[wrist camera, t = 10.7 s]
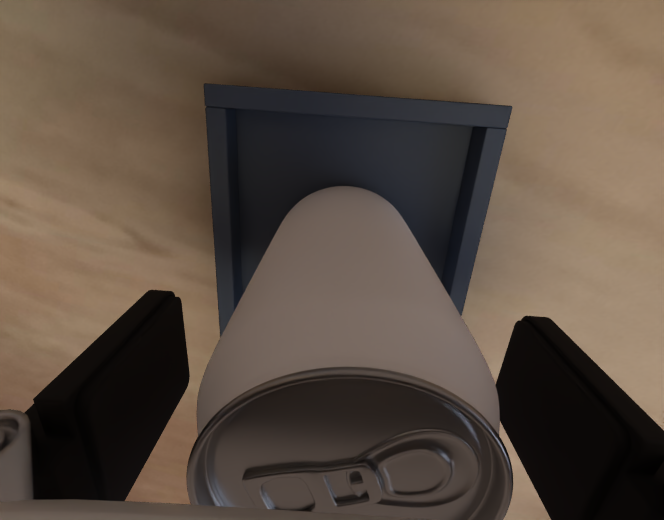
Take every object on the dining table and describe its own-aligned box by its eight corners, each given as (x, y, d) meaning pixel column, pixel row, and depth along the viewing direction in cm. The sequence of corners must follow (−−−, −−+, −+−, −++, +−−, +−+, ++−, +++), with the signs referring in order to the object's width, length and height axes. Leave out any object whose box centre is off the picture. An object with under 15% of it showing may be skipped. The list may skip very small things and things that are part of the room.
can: (421, 291, 18) (552, 580, 7) (300, 320, 19) (244, 619, 8) (394, 165, 16) (525, 299, 5) (257, 205, 16) (84, 399, 5)
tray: (220, 86, 15) (203, 83, 13) (491, 106, 15) (513, 105, 13) (242, 540, 27) (235, 573, 25) (392, 550, 27) (396, 583, 25)
